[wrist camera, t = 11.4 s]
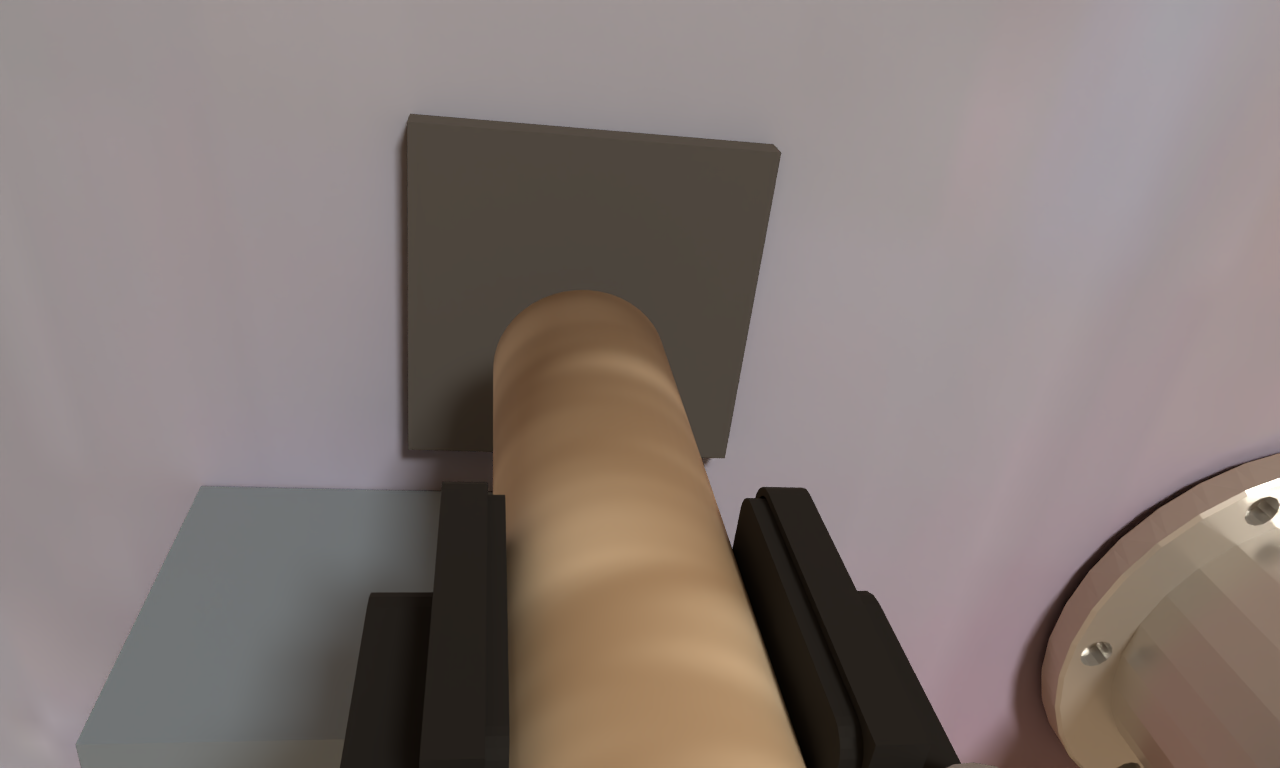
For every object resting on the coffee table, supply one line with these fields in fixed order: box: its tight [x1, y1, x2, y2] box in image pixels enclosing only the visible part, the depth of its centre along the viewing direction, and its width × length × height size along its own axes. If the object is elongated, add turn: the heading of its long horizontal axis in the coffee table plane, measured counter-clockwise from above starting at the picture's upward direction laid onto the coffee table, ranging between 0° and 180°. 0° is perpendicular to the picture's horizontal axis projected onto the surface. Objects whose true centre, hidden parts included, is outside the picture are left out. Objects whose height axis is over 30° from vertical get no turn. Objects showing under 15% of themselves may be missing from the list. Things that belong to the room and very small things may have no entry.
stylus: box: [493, 290, 807, 768], centre depth 10 cm, size 3×3×14 cm
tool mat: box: [407, 114, 781, 458], centre depth 19 cm, size 7×7×1 cm
